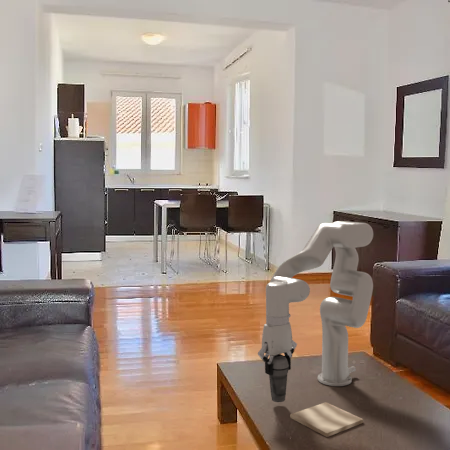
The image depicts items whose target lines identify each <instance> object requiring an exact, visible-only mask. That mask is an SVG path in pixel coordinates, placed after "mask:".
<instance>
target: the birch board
mask: <svg viewBox="0 0 450 450" xmlns="http://www.w3.org/2000/svg"><path fill="white" fill-rule="evenodd" d="M289 417H290V418H289V419H291V420H293V421H295V422H297V423H299V424H301V425H303V426H305V427H307V428H309V429H311V430H312V431H314V432H316V433H318V434H321V435H322V436H324V437H326V438H328V437H331V436H333V435H335V434H338V433H341V432H343V431H347V430H348V429H351V428H353V427H356V426H359V425H361V424H364V419H363V418H361V417H359V416H357V415H356V414H355V415H354V414H353V413H351V412H349V411H346V410H344V409H341V408H340V407H338V406H335V405H333V404H331V403H329V402H326V401H324V402H322V403H320V404H316V405H313V406H310V407H307V408H305V409H301V410H299V411H295V412H292V413H290V415H289Z"/></svg>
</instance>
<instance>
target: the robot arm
mask: <svg viewBox="0 0 450 450" xmlns="http://www.w3.org/2000/svg"><path fill="white" fill-rule="evenodd" d="M373 238H374V230H373V228H372V226H371V225H370V224H369V223H366V222H358V221H357V222H356V221H345V220H344V221H343V220H337V221H334V222H333V221H332V222H322V223H320V224H319V225H318V226H317V227H316V228H315V230H314V231H313V233H312V235H311V236H310V238H309V239H308V241H307V243H306V244H305V245H304V247H303V249H302V250H301V251H300V252H298V253H296V254H294V255H292V256H291V257H290V258H288V259H286V260H285V261H283V263H281V264H280V265H279V266H278V267H277V269H276V270H275V271H274V273H273V275H272V276H271V278H270V281H269V282H268V283H267V284H266V286H265V319H266V320H265V322H266V323H265V324H263V328H262V335H261V348H260V350H258V352H257V355H258V356H259V358H260V359H261V360H262V362H264V373H265V374H266V375H268V376H269V375H270V376H271V375H273V364H272V363H271V362H272V359H273V357H274V356H275V355H278V354H281V355H283V356H285V357H286V359H287V361H288V365H289V369H288V371H291V370H292V365H291V364H292V361H291V360H292V359H291V358H293V354H294V352H295V350H296V348H297V345H298V343H297V342H296V341H295V340H293V332H292V331H293V330H292V326H291V322H290V318H291V314H290V303H291V304H292V303H301V302H303V301H305V300H306V299H308V297H309V295H310V292H311V288H310V285H309V284H308V282H306V281H305V280H304V279H303V280H302V279H300V278H299V279H298V278H294V276H296V275H298V274H300V273H303V272H306V271H310V270H314V269H317V268H319V267H321V266H322V265H324V262H325V261H326V260H327V259H328V256H330V253H331V251H332V250H333V248H334V251H335V260H334V264H333V268H332V273H331V278H330V284H329V288H330V290H331V291H332V292H333V293H335V294H338V295H341V296H348V297H352V299H348V298H342V297H337V296H328V297H325V298H324V299H322V301H321V303H320V305H319V315H320V319H321V329H322V330H321V332H322V333H321V334H322V335H321V337H322V340H321V341H322V342H321V348H322V350H321V373H320V372H319V374H317V380H318V382H319V383H320V384H323V385H326V386H330V387H344V386H348V385H350V384H351V383H352V380H353V379H352V376H351V375H350V374H351V373H353V372H356V371H357V369H356V366H354V365H353V366H352V365H351V366H350V367H349V364H348V363H349V333H348V329H347V327H348V328H355V329H358V328H362V326H364V324H365V323H366V321H367V317H368V313H369V310H370V304H371V300H372V296H373V290H374V282H373V277H372V276H371V275H370V274H369V273H367V272H365V271H358V266H359V261H360V260H359V254H358V251H357V249H356V248H363V247H366V246H368V245H370V244H371V242H372V240H373Z"/></svg>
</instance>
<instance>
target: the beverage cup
mask: <svg viewBox="0 0 450 450" xmlns="http://www.w3.org/2000/svg"><path fill="white" fill-rule="evenodd" d="M271 363H272V364H273V375H271V376H270V375H268V377H269V386H270V387H269V388H270V396H271V401H272V402H275V403H282V402H285V400H286V395H287V384H288V383H287V382H288V373H289V370H288V369H289V365H288V361H287V359H286V357H285V355H284V354H278V355H275V356H274V357H273V359H272V362H271Z"/></svg>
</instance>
